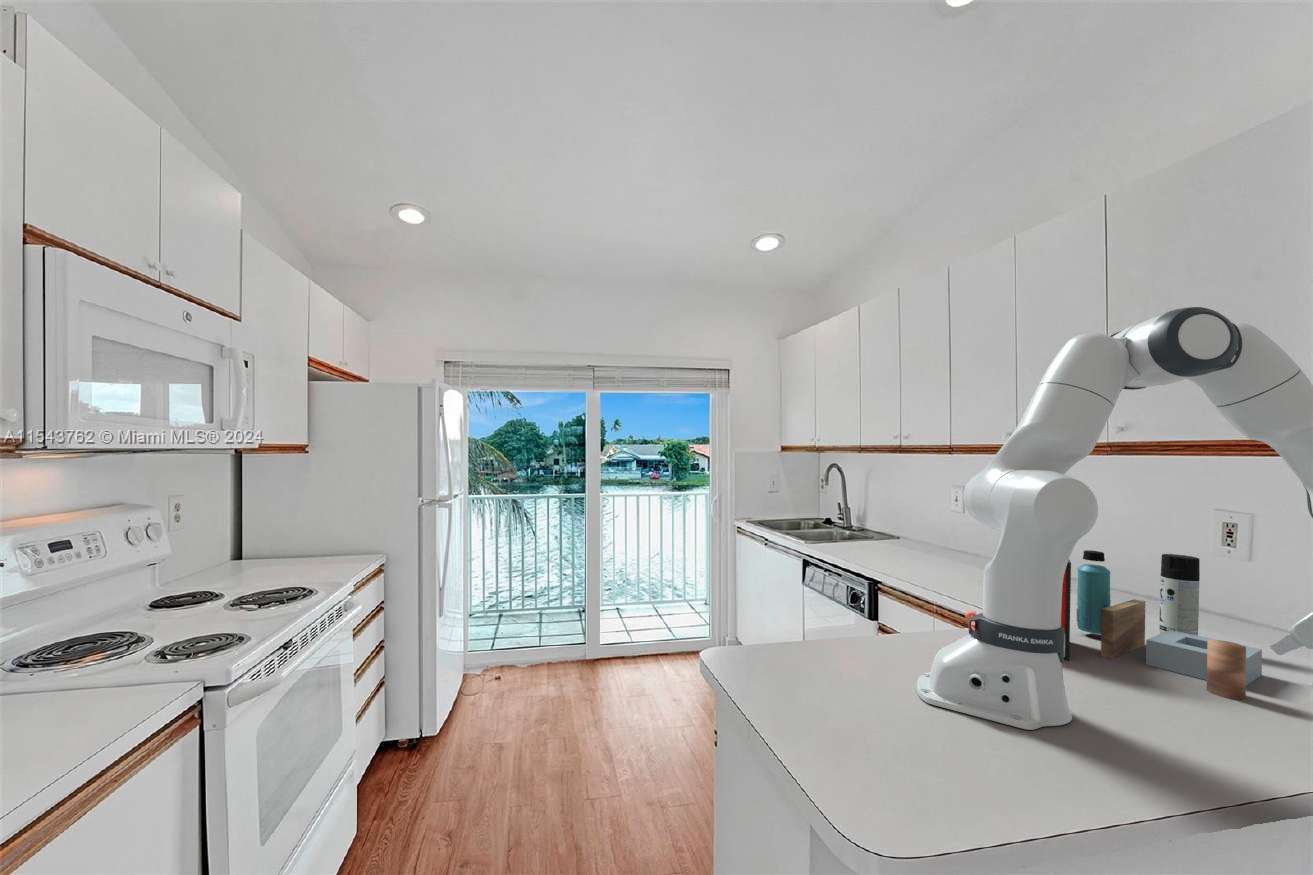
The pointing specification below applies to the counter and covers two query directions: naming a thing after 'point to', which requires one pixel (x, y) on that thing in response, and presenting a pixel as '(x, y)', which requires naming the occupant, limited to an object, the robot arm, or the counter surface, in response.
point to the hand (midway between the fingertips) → (1281, 646)
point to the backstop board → (1122, 628)
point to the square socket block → (1192, 655)
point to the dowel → (1226, 669)
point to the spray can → (1179, 594)
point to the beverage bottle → (1092, 593)
